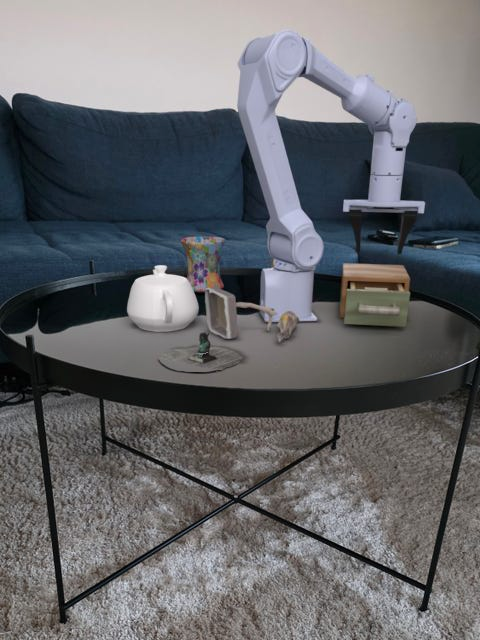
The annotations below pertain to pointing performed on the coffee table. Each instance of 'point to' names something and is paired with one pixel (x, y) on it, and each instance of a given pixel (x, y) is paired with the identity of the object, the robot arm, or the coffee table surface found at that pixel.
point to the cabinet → (371, 277)
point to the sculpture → (204, 355)
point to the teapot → (162, 302)
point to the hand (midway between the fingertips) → (378, 252)
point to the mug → (203, 262)
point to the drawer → (376, 304)
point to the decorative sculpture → (225, 315)
